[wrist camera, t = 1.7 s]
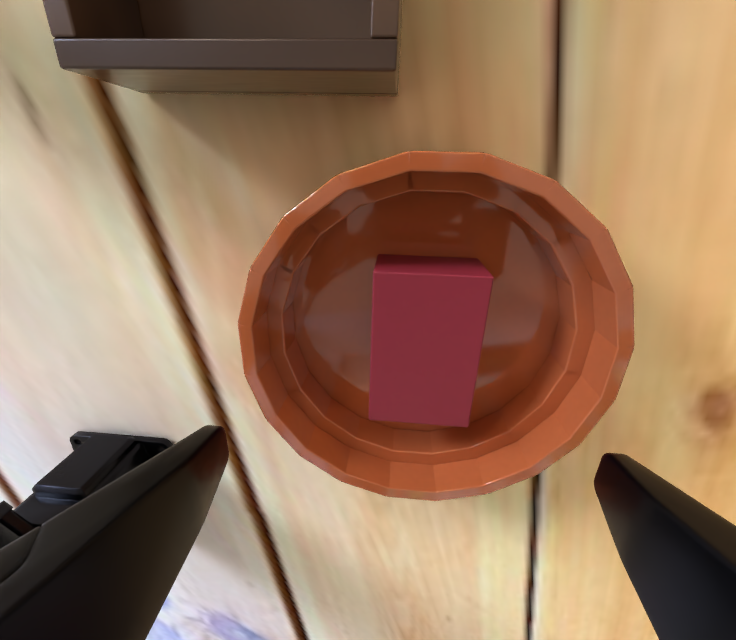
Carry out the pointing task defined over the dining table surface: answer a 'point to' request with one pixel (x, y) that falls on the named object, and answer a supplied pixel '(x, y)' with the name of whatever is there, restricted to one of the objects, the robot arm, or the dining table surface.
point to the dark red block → (426, 338)
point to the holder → (232, 45)
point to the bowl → (502, 332)
